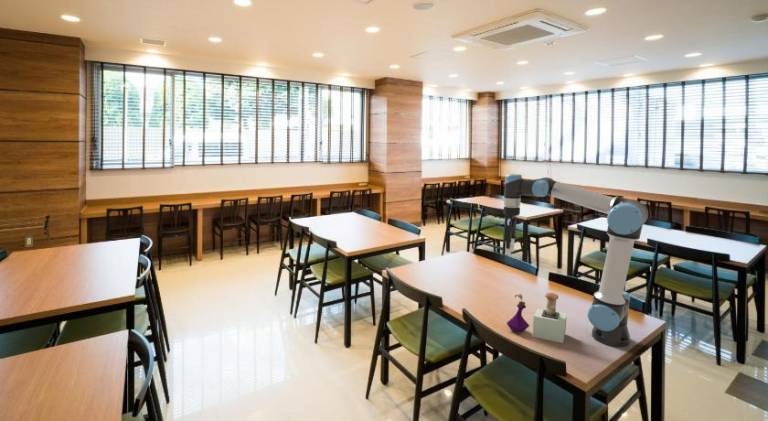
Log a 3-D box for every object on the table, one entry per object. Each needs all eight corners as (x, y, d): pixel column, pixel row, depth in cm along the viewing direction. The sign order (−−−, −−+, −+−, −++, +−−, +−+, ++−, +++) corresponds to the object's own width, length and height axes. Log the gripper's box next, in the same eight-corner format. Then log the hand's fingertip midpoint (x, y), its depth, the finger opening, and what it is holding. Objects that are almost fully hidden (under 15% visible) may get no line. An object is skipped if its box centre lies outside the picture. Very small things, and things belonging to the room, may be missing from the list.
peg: (557, 314, 185) (559, 294, 183) (556, 319, 180) (557, 298, 178) (544, 312, 187) (546, 292, 186) (543, 316, 183) (544, 295, 181)
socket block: (565, 334, 186) (566, 312, 185) (563, 343, 178) (565, 320, 176) (535, 327, 193) (537, 307, 191) (532, 336, 184) (533, 314, 182)
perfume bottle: (529, 331, 189) (531, 295, 186) (518, 335, 185) (520, 298, 182) (516, 325, 195) (518, 290, 192) (505, 329, 191) (507, 293, 188)
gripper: (508, 203, 202) (505, 247, 206) (499, 208, 185) (497, 256, 189) (523, 204, 198) (521, 249, 202) (516, 210, 181) (513, 259, 185)
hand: (509, 252), depth 195 cm, fingers open, 6 cm apart
